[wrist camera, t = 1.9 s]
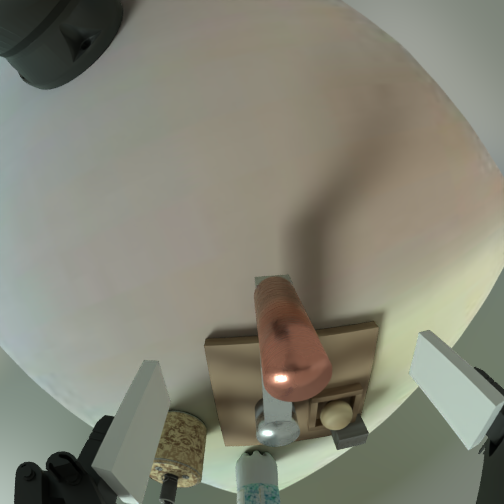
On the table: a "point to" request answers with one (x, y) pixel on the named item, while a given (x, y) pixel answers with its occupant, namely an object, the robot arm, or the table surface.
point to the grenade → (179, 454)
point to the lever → (285, 359)
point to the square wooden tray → (307, 411)
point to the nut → (336, 415)
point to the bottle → (257, 479)
